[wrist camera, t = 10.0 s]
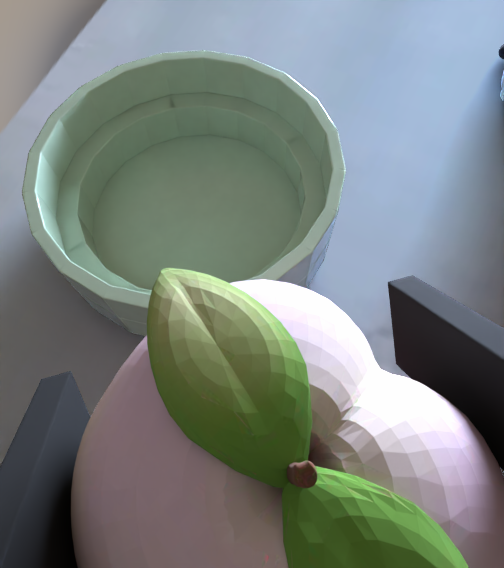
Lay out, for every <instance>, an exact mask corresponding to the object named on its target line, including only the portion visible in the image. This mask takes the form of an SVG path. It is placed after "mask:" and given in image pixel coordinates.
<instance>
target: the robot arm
mask: <svg viewBox="0 0 504 568" xmlns="http://www.w3.org/2000/svg"><path fill="white" fill-rule="evenodd" d="M388 288H389V298H390V308H391V318H392V328H393V337H394V347H395V357H396V364H397V365H398V366H399V367H400V368H401V369H402V370H403V371H404V372H405V373H406V374H407V375H408V376H409V377H410V378H411V379H412V380H415V381H418V382H420V383H422V384H423V385H425V386H427V387H429V388H430V389H432V390H433V391H435V392H437V393H438V394H440V395H441V396H443V397H444V398H445V399H447V400H448V401H449V402H450V403H452V404H453V405H454V406H455V407H456V408H458V409H459V410H460V411H461V412H462V413H464V414H465V415H466V416H467V417H468V419H469V420H470V421H471V422H472V424H473V425H474V426H475V428H476V429H477V430H478V431H479V433H480V434H481V435H482V436H483V438H484V440H485V441H486V443H487V445H488V447H489V448H490V450H491V452H492V453H493V455H494V457H495V458H496V460H497V462H498V464H499V466H500V467H501V468H502V469H503V470H504V328H503V327H501V326H499V325H497V324H496V323H494V322H492V321H490V320H489V319H487V318H485V317H484V316H482V315H480V314H478V313H477V312H475V311H473V310H471V309H470V308H468V307H466V306H465V305H463V304H461V303H459V302H458V301H456V300H454V299H453V298H451V297H449V296H447V295H446V294H444V293H442V292H440V291H439V290H437V289H435V288H434V287H432V286H430V285H428V284H427V283H425V282H423V281H422V280H420V279H418V278H416V277H415V276H413V275H412V276H408V277H405V278H401V279H398V280H394V281H390V282H388ZM89 419H90V415H89V413H88V411H87V408H86V406H85V403H84V401H83V399H82V396H81V394H80V392H79V389H78V387H77V384H76V382H75V380H74V377H73V375H72V373H71V371H69V372H66V373H62V374H59V375H55V376H51V377H48V378H44V379H41V381H40V383H39V385H38V388H37V390H36V392H35V394H34V396H33V398H32V400H31V402H30V405H29V407H28V409H27V411H26V413H25V415H24V417H23V419H22V422H21V424H20V426H19V428H18V430H17V432H16V434H15V437H14V439H13V441H12V443H11V445H10V447H9V449H8V451H7V454H6V456H5V458H4V460H3V462H2V464H1V466H0V568H78V567H77V562H76V558H75V553H74V546H73V538H72V527H71V489H72V480H73V472H74V467H75V462H76V457H77V452H78V449H79V446H80V443H81V440H82V436H83V434H84V431H85V429H86V426H87V424H88V421H89Z"/></svg>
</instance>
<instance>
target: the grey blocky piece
mask: <svg viewBox="0 0 504 568" xmlns="http://www.w3.org/2000/svg"><path fill="white" fill-rule="evenodd" d="M499 56H500V57H501V58H502V59H504V45H502V46H501V47H500V49H499ZM501 88H502V90H501V92H500V97H501V99H502V100H503V101H504V71H503V75H502V78H501Z"/></svg>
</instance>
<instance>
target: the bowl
mask: <svg viewBox="0 0 504 568" xmlns="http://www.w3.org/2000/svg"><path fill="white" fill-rule="evenodd" d="M345 170H346V168H345V163H344V158H343V153H342V148H341V144H340V139H339V134H338V130H337V129H336V127H335V125H334V124H333V122H332V121H331V119H330V118H329V116H328V115H327V113H326V112H325V110H324V108H323V107H322V105H321V104H320V102H319V101H318V99H317V98H316V97H315V96H314V95H312V94H311V93H310V92H308V91H307V90H306V89H305V88H303V87H302V86H301V85H300V84H298V83H297V82H296V81H295V80H293V79H292V78H291V77H290V76H288V75H287V74H286V73H284V72H282V71H279V70H277V69H274V68H272V67H270V66H267V65H265V64H262V63H260V62H258V61H255V60H253V59H251V58H248V57H247V58H246V57H244V56H237V55H231V54H225V53H218V52H212V51H203V50H202V51H187V52H172V53H162V54H157V55H153V56H150V57H146V58H143V59H139V60H136V61H132V62H129V63H125V64H122V65H119V66H117V67H115V68H113V69H111V70H110V71H108V72H106V73H104V74H102V75H101V76H99V77H97V78H95V79H93V80H92V81H90V82H88V83H86V84H84V85H83V86H81V87H79V88H78V89H77V90H76V91H75V92H74V93H73V94H72V95H71V96H70V97H69V98H68V99H67V100H66V101H65V102H64V103H63V104H61V105H60V106H59V107H58V108H57V109H56V110H55V111H54V112H53V113H52V114H51V115H50V117H49V118H48V119H47V121H46V123H45V125H44V126H43V128H42V130H41V132H40V133H39V135H38V137H37V139H36V140H35V142H34V144H33V146H32V148H31V149H30V151H29V153H28V159H27V165H26V171H25V177H24V183H23V189H22V196H23V200H24V204H25V209H26V213H27V217H28V222H29V226H30V230H31V234H32V236H33V237H34V239H35V240H36V241H37V243H38V244H39V245H40V247H41V248H42V249H43V251H44V252H45V253H46V255H47V256H48V257H49V259H50V260H51V261H52V263H53V264H54V266H55V267H56V268H57V270H58V271H59V272H60V273H61V274H62V275H63V276H64V277H65V278H66V279H67V280H68V281H69V283H70V284H71V285H72V286H73V287H74V288H75V289H76V290H77V291H78V292H79V293H80V294H81V295H82V296H83V297H84V298H85V299H86V301H87V302H88V303H89V304H90V305H91V306H92V307H93V308H94V309H95V310H96V311H97V312H99V313H101V314H102V315H104V316H105V317H107V318H109V319H110V320H112V321H113V322H115V323H116V324H118V325H120V326H121V327H123V328H124V329H126V330H128V331H129V332H131V333H134V334H139V335H143V336H146V335H147V314H148V305H149V300H150V296H151V292H152V288H153V286H154V284H155V282H156V280H157V278H158V275H159V273H160V271H161V270H162V269H164V268H175V269H184V270H191V271H196V272H200V273H204V274H208V275H211V276H213V277H216V278H218V279H221V280H223V281H226V282H228V283H233V282H239V281H250V280H261V279H265V280H272V281H279V282H286V283H291V284H294V285H297V286H300V287H303V288H307V287H308V285H309V284H310V282H311V280H312V279H313V277H314V275H315V274H316V272H317V271H318V269H319V267H320V266H321V264H322V262H323V261H324V258H325V255H326V251H327V248H328V245H329V241H330V238H331V234H332V231H333V227H334V224H335V221H336V217H337V214H338V210H339V205H340V199H341V194H342V189H343V184H344V179H345V173H346V171H345Z"/></svg>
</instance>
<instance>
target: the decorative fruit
mask: <svg viewBox="0 0 504 568" xmlns="http://www.w3.org/2000/svg"><path fill="white" fill-rule="evenodd" d="M71 527H72V538H73V546H74V553H75V558H76V562H77V567H78V568H504V477H503V475H502V472H501V469H500V467H499V464H498V462H497V460H496V458H495V457H494V455H493V453H492V452H491V450H490V448H489V447H488V445H487V443H486V441H485V440H484V438H483V436H482V435H481V434H480V433H479V431H478V430H477V429H476V428H475V426H474V425H473V424H472V422H471V421H470V420H469V419H468V417H467V416H466V415H465V414H464V413H462V412H461V411H460V410H459V409H458V408H456V407H455V406H454V405H453V404H452V403H450V402H449V401H448V400H447V399H445V398H444V397H443V396H441V395H440V394H438V393H437V392H435V391H433V390H432V389H430V388H429V387H427V386H425V385H423V384H422V383H420V382H418V381H415V380H412V379H409V378H407V377H403V376H399V375H395V374H390V373H388V372H386V371H384V370H382V369H380V367H379V366H378V364H377V362H376V361H375V359H374V356H373V353H372V351H371V348H370V346H369V344H368V342H367V340H366V338H365V337H364V335H363V333H362V332H361V330H360V329H359V328H358V327H357V326H356V325H355V324H354V322H353V321H352V320H351V319H350V318H349V317H348V316H347V315H346V314H345V313H344V312H343V311H342V310H341V309H340V308H338V307H337V306H336V305H335V304H334V303H333V302H331V301H330V300H329V299H327V298H325V297H323V296H321V295H319V294H317V293H315V292H314V291H312V290H309V289H306V288H303V287H300V286H297V285H294V284H291V283H286V282H279V281H272V280H265V279H261V280H250V281H239V282H233V283H228V282H226V281H223V280H221V279H218V278H216V277H213V276H211V275H208V274H204V273H200V272H196V271H191V270H184V269H175V268H164V269H162V270H161V271H160V273H159V275H158V278H157V280H156V282H155V284H154V286H153V288H152V292H151V296H150V300H149V305H148V314H147V335H146V337H145V338H144V339H143V340H142V341H141V342H140V344H139V345H138V346H137V347H136V348H135V350H134V351H133V352H132V354H131V355H130V356H129V357H128V359H127V360H126V361H125V363H124V364H123V365H122V367H121V368H120V369H119V371H118V372H117V374H116V376H115V377H114V379H113V380H112V382H111V383H110V385H109V387H108V388H107V390H106V391H105V393H104V395H103V396H102V398H101V399H100V401H99V403H98V404H97V406H96V408H95V410H94V412H93V414H92V416H91V418H90V419H89V421H88V424H87V426H86V429H85V431H84V434H83V436H82V440H81V443H80V446H79V449H78V452H77V457H76V462H75V467H74V472H73V480H72V489H71Z"/></svg>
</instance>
